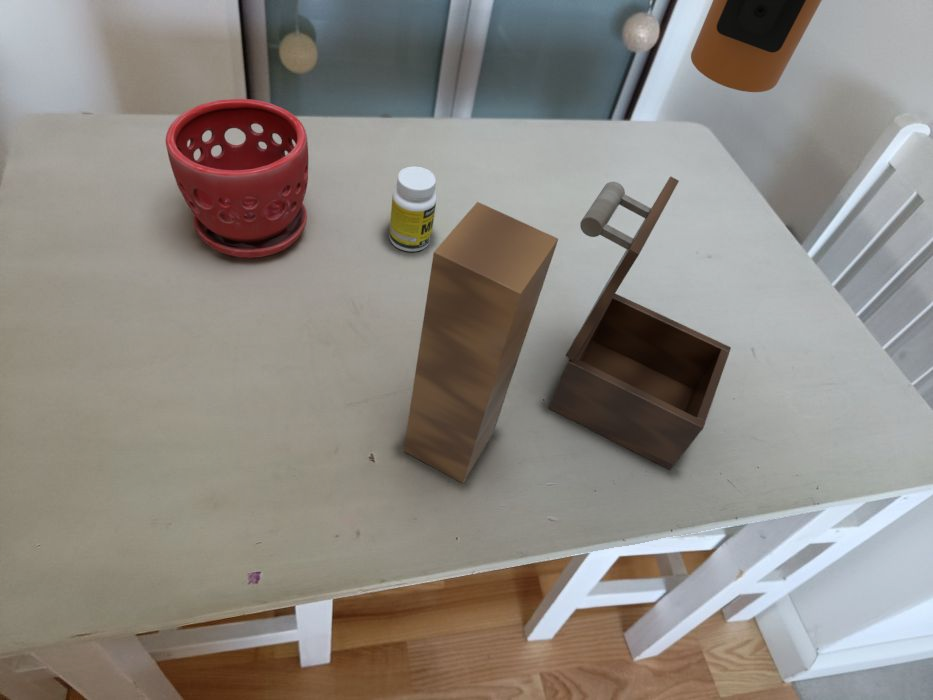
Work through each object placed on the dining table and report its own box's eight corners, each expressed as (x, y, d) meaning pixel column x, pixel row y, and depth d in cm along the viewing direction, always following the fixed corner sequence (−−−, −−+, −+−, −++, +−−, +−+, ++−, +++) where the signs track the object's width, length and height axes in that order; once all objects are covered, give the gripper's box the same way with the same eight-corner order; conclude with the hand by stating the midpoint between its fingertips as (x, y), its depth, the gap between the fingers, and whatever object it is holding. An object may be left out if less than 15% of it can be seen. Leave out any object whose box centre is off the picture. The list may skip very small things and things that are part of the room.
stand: (493, 433, 63) (558, 238, 45) (462, 483, 59) (520, 293, 41) (436, 403, 64) (477, 201, 46) (403, 451, 60) (433, 251, 42)
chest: (699, 391, 70) (731, 347, 64) (670, 470, 63) (703, 428, 58) (586, 337, 72) (607, 289, 67) (547, 407, 66) (567, 361, 60)
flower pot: (319, 196, 80) (317, 104, 71) (299, 277, 72) (293, 183, 62) (204, 181, 79) (186, 84, 69) (169, 261, 70) (144, 163, 61)
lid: (679, 180, 56) (624, 151, 56) (639, 254, 49) (578, 220, 50) (613, 288, 66) (567, 263, 67) (573, 360, 60) (523, 332, 60)
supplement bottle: (424, 257, 76) (432, 197, 70) (383, 246, 76) (387, 185, 70) (435, 230, 79) (444, 170, 73) (396, 219, 79) (401, 158, 73)
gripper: (1242, -606, 15) (805, 122, 29) (1128, -514, 26) (847, -11, 40) (900, -663, 16) (640, 59, 30) (925, -554, 27) (723, -54, 41)
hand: (759, 15), depth 35 cm, fingers closed on pill bottle, 4 cm apart
